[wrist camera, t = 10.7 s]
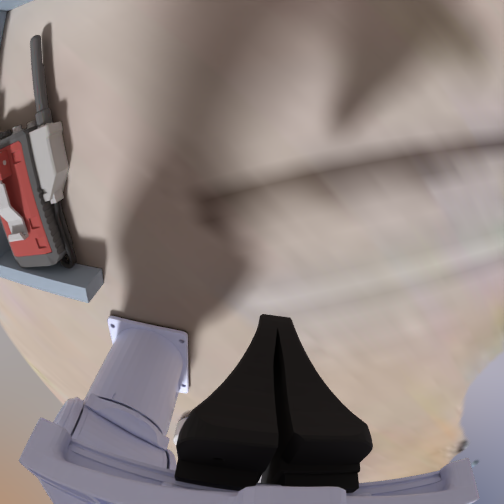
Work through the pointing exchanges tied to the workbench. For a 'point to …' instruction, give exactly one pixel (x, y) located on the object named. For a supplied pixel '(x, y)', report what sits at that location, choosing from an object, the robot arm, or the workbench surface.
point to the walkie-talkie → (35, 182)
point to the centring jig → (57, 276)
